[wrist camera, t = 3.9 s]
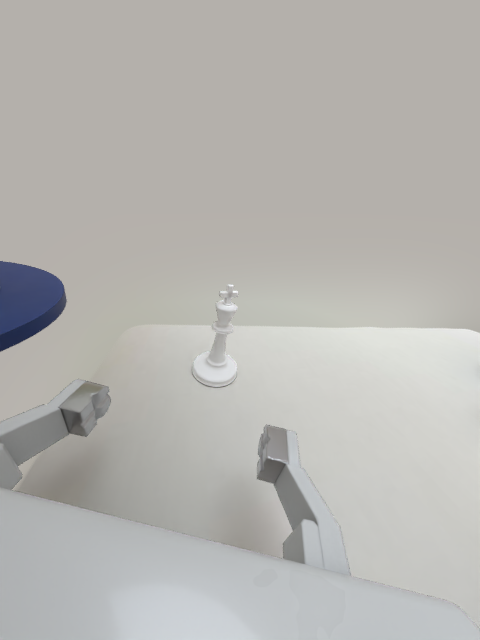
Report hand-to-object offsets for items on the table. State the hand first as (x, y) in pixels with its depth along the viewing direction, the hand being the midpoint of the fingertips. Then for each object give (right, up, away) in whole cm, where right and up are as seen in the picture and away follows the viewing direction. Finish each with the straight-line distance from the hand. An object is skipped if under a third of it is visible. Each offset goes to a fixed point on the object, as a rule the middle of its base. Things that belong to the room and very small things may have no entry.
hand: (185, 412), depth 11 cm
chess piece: (0, -1, +13) cm, 13 cm away
